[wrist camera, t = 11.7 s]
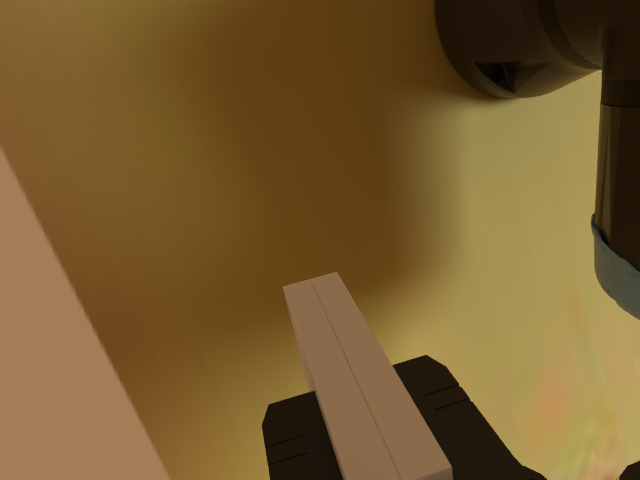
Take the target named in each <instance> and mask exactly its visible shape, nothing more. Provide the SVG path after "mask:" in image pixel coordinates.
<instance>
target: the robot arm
mask: <svg viewBox="0 0 640 480" xmlns="http://www.w3.org/2000/svg"><path fill="white" fill-rule="evenodd" d="M436 18H437V25H438V30H439V34H440V38H441V41H442V44H443V47H444V49H445V52H446V54H447V56H448V58H449V60H450V61H451V63H452V65H453V66H454V68H455V69H456V70H457V72H458V73H459V74H460V75H461V76H462V77H463V78H464V80H466V81H467V82H468V83H469V84H470V85H472V86H473V87H474V88H476V89H477V90H479V91H481V92H483V93H485V94H488V95H491V96H494V97H499V98H530V97H536V96H541V95H544V94H548V93H550V92H553V91H555V90H557V89H559V88H561V87H563V86H565V85H568V84H570V83H572V82H574V81H576V80H578V79H580V78H582V77H585V76H587V75H589V74H591V73H593V72H595V71H597V70H602V89H601V103H600V122H599V142H598V161H597V181H596V200H595V213H594V214H592V218H591V229H592V232H593V235H594V262H595V273H596V276H597V279H598V281H599V283H600V285H601V287H602V288H603V290H604V291H605V292H606V293H607V294H608V295H609V296H610V297H611V298H612V299H614V300H615V301H616V303H617V304H618V305H619V306H620V307H621V308H622V309H623V310H625V311H626V312H628V313H629V314H631V315H632V316H634V317H635V318H637V319H639V320H640V0H436ZM283 290H284V294H285V298H286V302H287V306H288V311H289V315H290V319H291V323H292V327H293V331H294V335H295V339H296V343H297V347H298V351H299V355H300V359H301V363H302V367H303V371H304V374H305V377H306V380H307V383H308V387H309V390H310V392H308V393H305V394H302V395H298V396H295V397H292V398H289V399H285V400H282V401H279V402H276V403H272V404H269V405H268V408H267V411H266V414H265V417H264V420H263V423H262V430H263V436H264V443H265V448H266V455H267V462H268V467H269V475H270V480H547V479H546V478H545V477H544V476H543V475H542V474H540V473H538V472H536V471H533V470H531V469H529V468H527V467H525V466H522V465H521V464H520V463H519V462H518V461H517V460H516V459H515V457H514V456H513V455H512V454H511V452H510V451H509V450H508V448H507V447H506V446H505V444H504V443H503V442H502V440H501V439H500V438H499V436H498V435H497V434H496V432H495V431H494V430H493V429H492V427H491V426H490V425H489V423H488V422H487V421H486V419H485V418H484V417H483V415H482V414H481V413H480V411H479V410H478V409H477V407H476V406H475V405H474V403H473V402H471V401H470V398H469V397H468V395H467V394H466V393H465V391H464V390H463V389H462V387H460V386H459V383H458V382H457V381H456V379H455V378H454V377H453V375H452V374H451V373H450V371H449V370H448V369H447V367H446V366H444V365H442V364H441V363H439V362H437V361H436V360H434V359H432V358H431V357H429V356H427V355H424V356H421V357H418V358H414V359H411V360H408V361H405V362H401V363H398V364H395V365H392V364H391V363H390V361H389V359H388V358H387V356H386V354H385V352H384V351H383V349H382V347H381V346H380V344H379V342H378V341H377V339H376V337H375V335H374V334H373V332H372V330H371V329H370V327H369V325H368V324H367V322H366V320H365V318H364V317H363V315H362V313H361V312H360V310H359V308H358V307H357V305H356V303H355V301H354V300H353V298H352V296H351V295H350V293H349V291H348V290H347V288H346V286H345V284H344V283H343V281H342V279H341V278H340V276H339V274H338V273H337V272H333V273H330V274H326V275H322V276H319V277H315V278H312V279H308V280H304V281H301V282H297V283H293V284H290V285H286V286H283ZM619 480H640V461H638V462H636V463H633V464H631V465H628V466H627V467H626V469H625V470H624V471H623V473H622V474H621V475H620V479H619Z"/></svg>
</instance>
